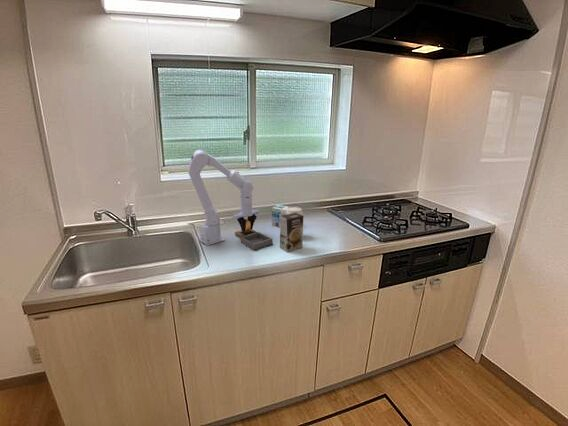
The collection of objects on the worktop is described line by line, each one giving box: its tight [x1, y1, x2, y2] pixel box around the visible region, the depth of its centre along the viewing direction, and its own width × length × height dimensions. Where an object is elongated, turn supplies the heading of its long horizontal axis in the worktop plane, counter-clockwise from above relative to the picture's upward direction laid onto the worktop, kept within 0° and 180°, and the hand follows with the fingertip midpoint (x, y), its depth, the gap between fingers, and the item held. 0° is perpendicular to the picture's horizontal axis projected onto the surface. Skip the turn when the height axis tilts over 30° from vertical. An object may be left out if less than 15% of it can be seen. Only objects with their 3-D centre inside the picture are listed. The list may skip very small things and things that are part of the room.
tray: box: [240, 231, 273, 251], centre depth 153 cm, size 11×11×3 cm
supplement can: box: [286, 206, 304, 216], centre depth 160 cm, size 8×8×15 cm
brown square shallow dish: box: [234, 228, 259, 239], centre depth 162 cm, size 9×9×2 cm
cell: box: [243, 218, 251, 235], centre depth 161 cm, size 4×4×9 cm
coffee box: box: [279, 213, 304, 253], centre depth 147 cm, size 9×6×16 cm
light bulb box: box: [271, 204, 291, 228], centre depth 175 cm, size 11×7×11 cm, turn 62°
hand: (246, 229), depth 161 cm, fingers closed on cell, 4 cm apart
